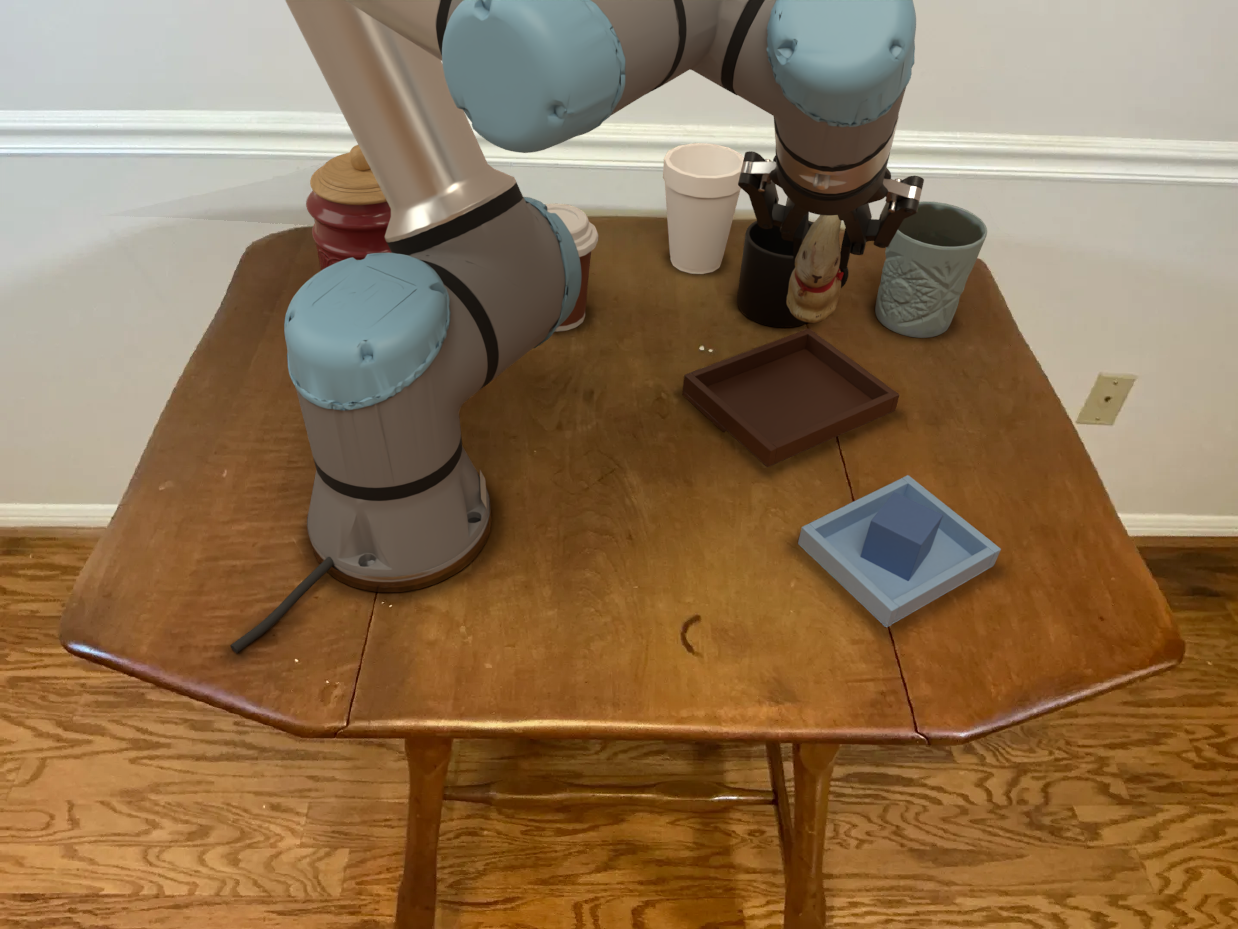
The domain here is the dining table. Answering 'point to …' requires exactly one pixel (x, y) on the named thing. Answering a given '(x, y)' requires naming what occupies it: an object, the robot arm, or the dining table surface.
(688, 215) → the foam cup
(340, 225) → the kitchen canister
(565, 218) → the coffee cup
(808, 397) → the brown tray
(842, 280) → the mug
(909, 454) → the dining table surface
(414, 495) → the robot arm
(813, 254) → the chocolate bunny
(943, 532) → the blue tray
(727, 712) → the dining table surface
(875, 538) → the slate-blue block
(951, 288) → the drinking glass
